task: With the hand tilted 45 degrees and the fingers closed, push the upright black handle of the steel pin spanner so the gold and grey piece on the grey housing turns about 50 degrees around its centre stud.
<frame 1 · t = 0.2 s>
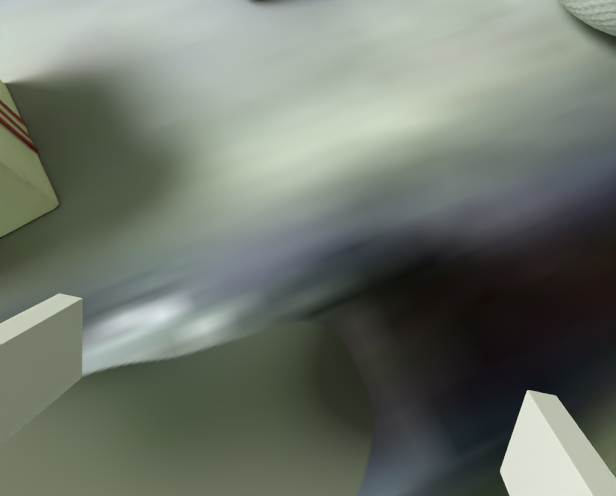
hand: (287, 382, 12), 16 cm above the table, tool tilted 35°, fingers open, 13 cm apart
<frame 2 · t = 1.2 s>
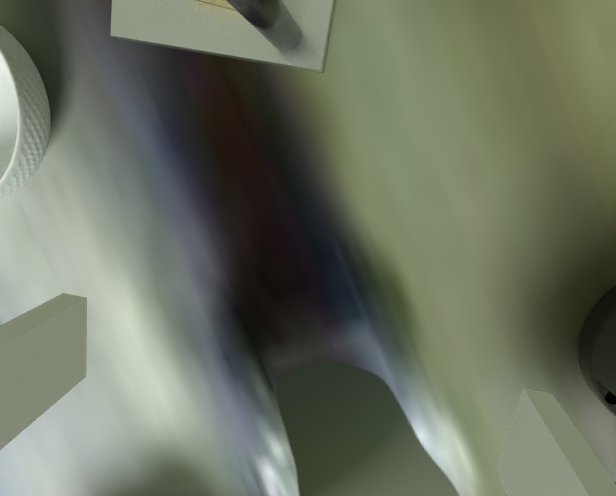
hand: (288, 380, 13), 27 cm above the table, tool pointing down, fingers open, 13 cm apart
cereal bowl: (0, 111, 41), on the table
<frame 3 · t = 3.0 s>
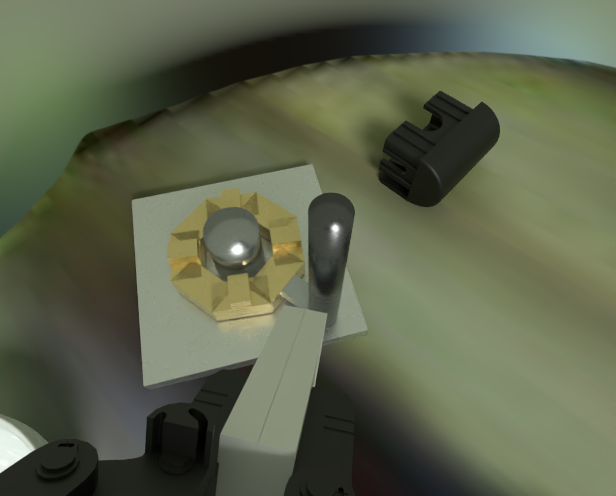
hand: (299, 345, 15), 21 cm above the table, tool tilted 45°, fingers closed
gold and grey piece: (249, 226, 30), point 9 cm above the table, hinge at 0.0°
end cap: (429, 174, 45), on the table
housing: (242, 267, 39), on the table
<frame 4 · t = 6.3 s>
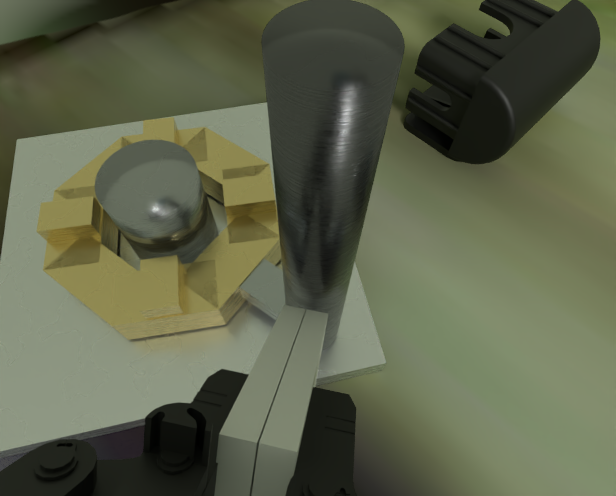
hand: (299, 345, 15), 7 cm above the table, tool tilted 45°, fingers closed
gold and grey piece: (168, 159, 16), point 9 cm above the table, hinge at 2.0°, touching gripper
end cap: (479, 122, 30), on the table
housing: (182, 249, 24), on the table
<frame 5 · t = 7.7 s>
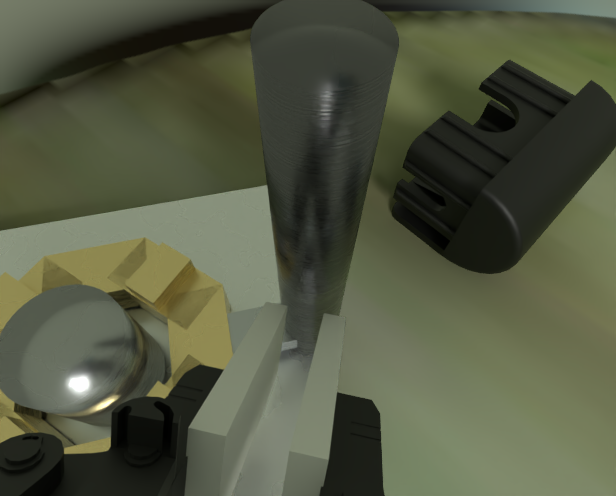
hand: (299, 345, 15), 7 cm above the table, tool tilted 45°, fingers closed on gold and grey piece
gold and grey piece: (96, 298, 13), point 9 cm above the table, hinge at 50.5°, touching gripper
end cap: (478, 207, 26), on the table
housing: (127, 381, 21), on the table
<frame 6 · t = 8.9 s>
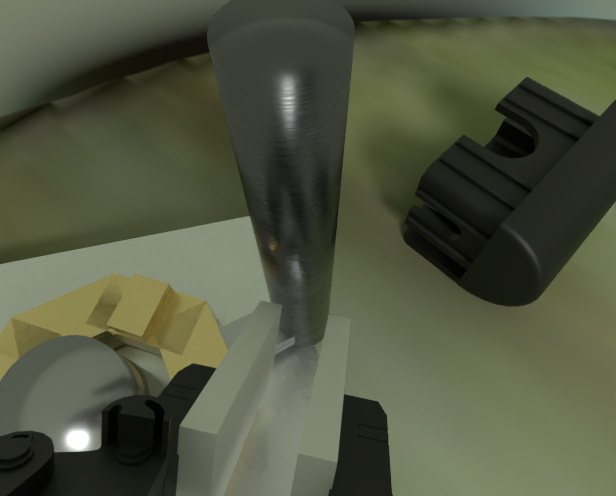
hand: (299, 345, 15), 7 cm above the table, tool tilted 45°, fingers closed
gold and grey piece: (89, 344, 12), point 9 cm above the table, hinge at 64.8°, touching gripper
end cap: (495, 229, 25), on the table
housing: (131, 422, 20), on the table
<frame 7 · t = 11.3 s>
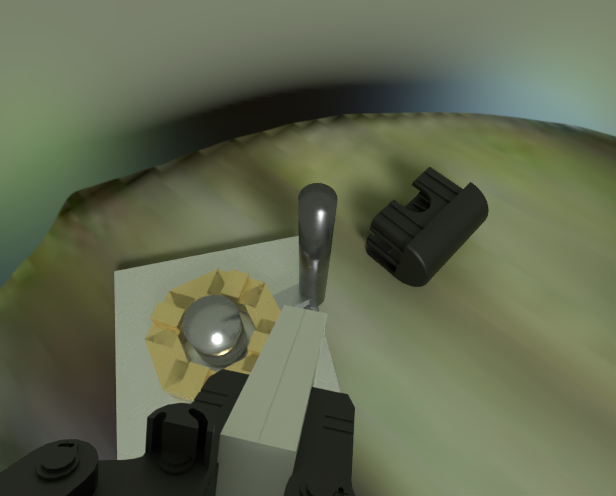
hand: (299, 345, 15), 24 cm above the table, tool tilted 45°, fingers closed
gold and grey piece: (234, 293, 31), point 9 cm above the table, hinge at 64.9°
end cap: (417, 247, 44), on the table
housing: (224, 345, 39), on the table
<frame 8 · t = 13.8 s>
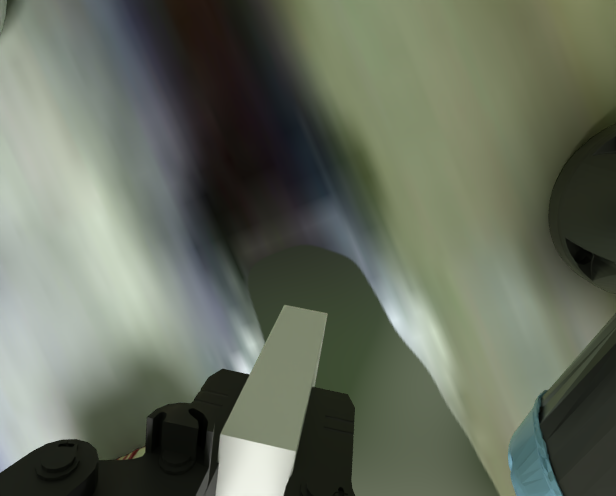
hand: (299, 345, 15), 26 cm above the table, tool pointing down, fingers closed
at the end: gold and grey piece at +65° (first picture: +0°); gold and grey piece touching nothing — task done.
